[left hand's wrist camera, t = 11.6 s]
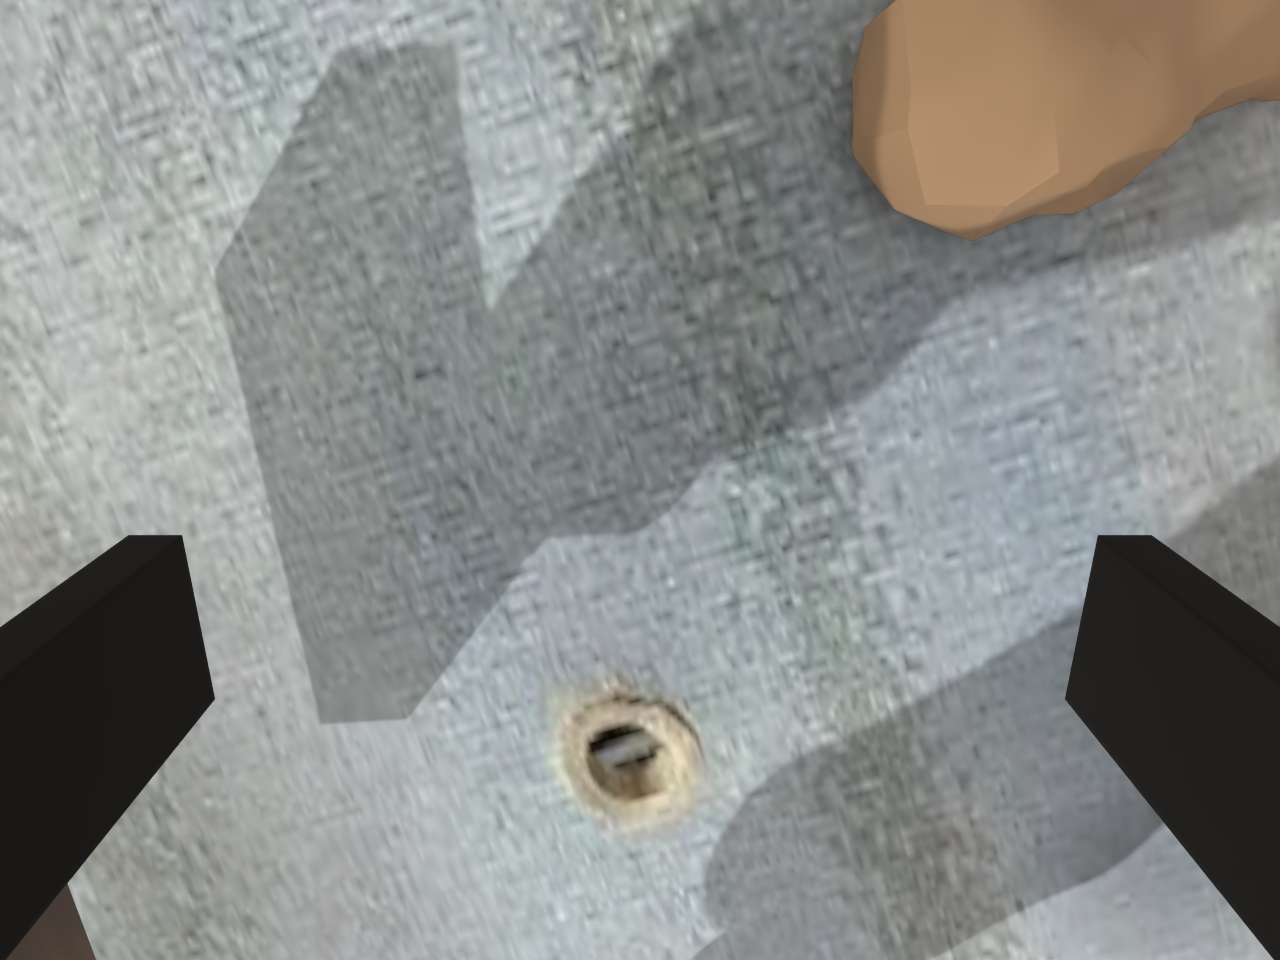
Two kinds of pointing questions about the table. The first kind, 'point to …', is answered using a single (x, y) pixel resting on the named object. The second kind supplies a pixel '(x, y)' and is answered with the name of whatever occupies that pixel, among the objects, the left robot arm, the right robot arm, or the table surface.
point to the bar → (56, 934)
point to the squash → (1044, 98)
